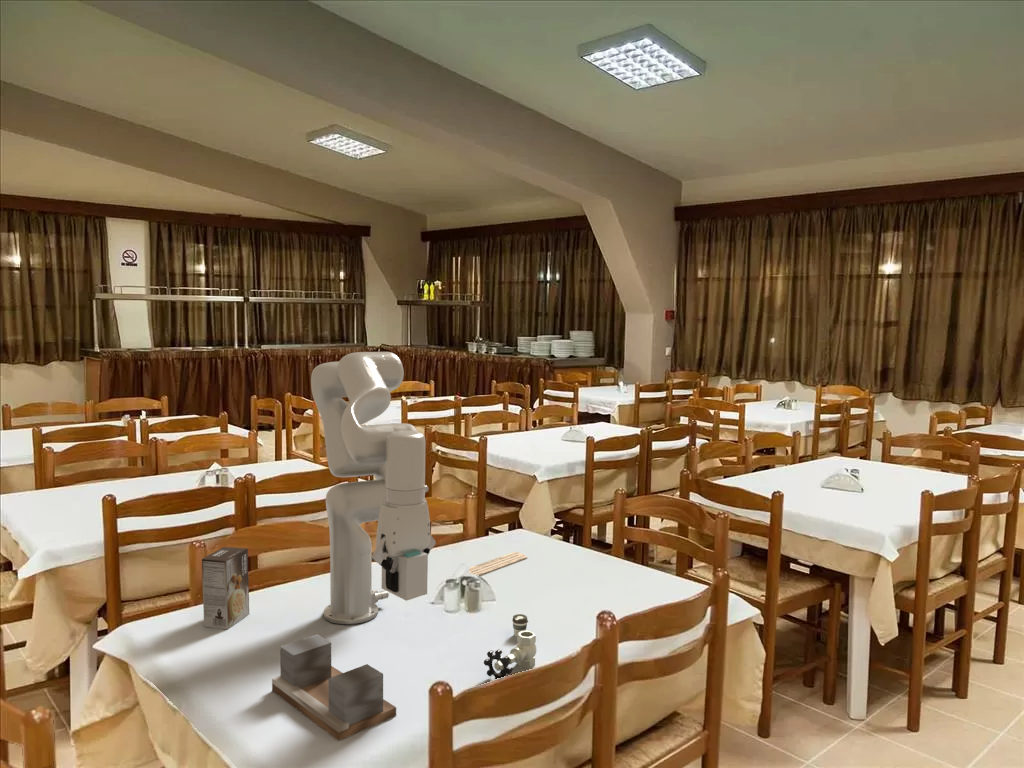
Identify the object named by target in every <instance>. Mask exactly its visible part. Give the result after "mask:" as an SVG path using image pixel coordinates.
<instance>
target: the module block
mask: <svg viewBox="0 0 1024 768" xmlns="http://www.w3.org/2000/svg"><path fill="white" fill-rule="evenodd" d="M385 555H386V552H384V553H383V555H382V557H383V558H384V559H385ZM428 559H429V554H427V553H424V552H422V551H414V552H410V553H406V554H405V555H403V556H400V557H398V565H397V569H396V571H397V572H398V592H393V591H391V590H389V589H387V588H386V570H385V569H383V567H382V566H381V589H382V590H383V591H384V590H386V591H388V593H389V594H392V595H394V596H396V597H398V598H400V599H402V600H404V601H406V602H407V601H411V600H413V599H416V598H419V597H422V596H425V595H428V572H429V571H428V567H429V566H428V564H429V563H428V562H429V560H428ZM391 561H392V558H391ZM390 563H391V562H390Z"/></svg>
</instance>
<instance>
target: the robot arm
mask: <svg viewBox="0 0 1024 768" xmlns="http://www.w3.org/2000/svg"><path fill="white" fill-rule="evenodd" d="M404 370H405V369H404V366H403V363H402V360H401V358H400V357H399V356H398V355H397V354H395V353H394V352H391V351H357V352H350V353H347V354H345V355H344V356H343V357H341V359H340V360H339V361H330V362H324V363H320V364H318V365H317V366H315V367H314V369H313V370H312V372H311V376H310V385H311V387H310V388H311V395H312V398H313V401H314V403H315V405H316V408H317V410H318V412H319V416H320V417H321V420H322V425H323V433H324V434H323V435H324V443H325V451H326V452H325V453H326V459H327V465H328V468H329V471H330V472H329V473H331V474H332V476H334V477H337V478H354V477H363V476H364V477H365V476H366V477H367V476H374V477H375V479H373V480H361V481H360V480H359V481H349V482H344V483H339V484H336V485H334V486H332V487H331V488H329V490H328V491H326V494H325V509H326V514H327V515H326V516H327V520H328V528H329V554H330V555H329V556H330V557H329V558H330V559H329V560H330V565H329V569H330V570H329V571H330V573H329V574H330V576H329V577H330V581H329V582H330V583H329V584H330V586H329V587H330V603H329V604H328V605H327V606H326V607H325V608H324V610H323V618H324V619H326V620H327V621H328V622H331V623H333V624H339V625H354V624H356V625H357V624H361V623H365V622H368V621H370V620H373V619H374V618H376V616H378V614H379V606H378V605H377V604H376V603H378V602H379V601H381V600H384V599H388V598H389V596H390V595H389V594H390V593H389V592H388V591H386V590H384V589H383V590H381V591H379V590H377V589H373V590H372V583H373V582H372V577H373V576H372V573H373V572H372V564H373V563H372V561H374V562H376V563H377V564H378V565H380V566H381V568H382V567H383V569H385V570H386V588H387V589H389V590H391V591H393V592H398V572H397V571H396V569H397V565H398V557H400V556H403V555H405V554H406V553H410V552H414V551H422V552H424V553H427V554H428V555H429V554H430V552H431V551H432V549H433V548H434V547H435V545H436V544H437V541H436V540H435V538H434V537H433V536H432V534H431V520H430V511H429V506H428V500H427V499H426V497H425V496H426V493H427V492H428V491H429V486H428V485H426V448H427V447H426V445H427V444H426V443H427V442H426V436H425V435H424V434H423V433H422V432H419V431H418V430H417V428H416V427H415V426H414V425H413V424H411V423H404V422H403V423H385V424H384V423H383V424H368V425H363V424H365V423H368V422H370V421H371V420H374V419H376V418H377V417H380V416H381V415H382V414H384V413H385V411H387V410H388V408H389V406H390V404H391V402H392V395H391V392H393V391H395V390H397V389H398V388H399V387H400V386H401V385H402V383H403V381H404V376H405V374H404V372H405V371H404ZM343 398H347V399H348V401H349V402H347V401H346V400H344V399H343ZM370 522H377V528H376V540H375V542H376V545H375V549H374V551H373V552H372V540H371V537H370V535H369V534H368V533H367V531H366V530H365V529H364V528H363V527H362V526H361V525H362V524H365V523H370ZM384 552H386V555H385V559H384V558H383V557H382V555H383V553H384ZM391 558H392V561H391ZM390 562H391V563H390ZM378 591H379V592H378Z"/></svg>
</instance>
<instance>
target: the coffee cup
mask: <svg viewBox="0 0 1024 768" xmlns="http://www.w3.org/2000/svg"><path fill="white" fill-rule="evenodd" d="M528 623H529V621H528V616H527V615H525V614H523V613H522V614H521V613H520V614H519V613H517V614H515V615H513V616H512V628H513V634H514V635H513V636H514V637H516V638H517V634H518V633H519V632H521V631H527V626H528Z"/></svg>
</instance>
